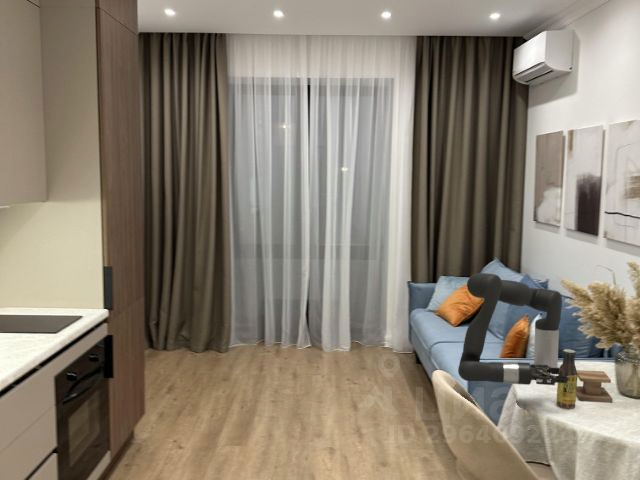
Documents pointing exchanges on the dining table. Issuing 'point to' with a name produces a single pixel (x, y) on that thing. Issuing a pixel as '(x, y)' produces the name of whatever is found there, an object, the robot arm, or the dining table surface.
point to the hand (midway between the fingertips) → (564, 375)
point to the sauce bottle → (567, 390)
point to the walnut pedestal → (593, 386)
